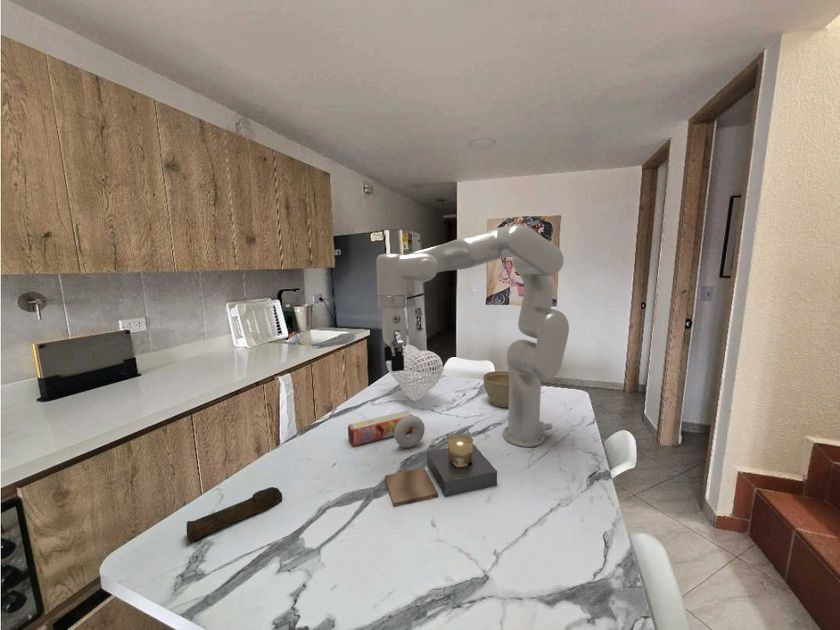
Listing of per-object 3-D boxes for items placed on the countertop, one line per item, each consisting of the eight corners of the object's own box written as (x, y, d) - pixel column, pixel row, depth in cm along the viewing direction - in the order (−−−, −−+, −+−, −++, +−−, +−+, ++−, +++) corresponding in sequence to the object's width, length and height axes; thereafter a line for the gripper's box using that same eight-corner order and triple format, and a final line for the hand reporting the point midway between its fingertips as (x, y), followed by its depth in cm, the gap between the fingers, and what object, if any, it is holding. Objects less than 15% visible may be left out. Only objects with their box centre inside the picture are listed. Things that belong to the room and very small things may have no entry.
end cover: (466, 466, 96) (466, 432, 94) (476, 479, 90) (476, 443, 88) (444, 470, 94) (444, 435, 93) (453, 484, 88) (453, 448, 87)
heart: (451, 406, 135) (450, 351, 132) (418, 417, 126) (417, 358, 123) (410, 386, 158) (409, 339, 154) (380, 394, 149) (379, 344, 145)
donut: (397, 453, 103) (396, 421, 101) (392, 447, 106) (391, 417, 104) (426, 445, 107) (426, 414, 106) (422, 440, 110) (421, 410, 109)
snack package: (352, 449, 106) (351, 428, 105) (347, 439, 112) (346, 420, 111) (415, 433, 115) (415, 414, 114) (407, 425, 121) (407, 407, 120)
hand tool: (188, 548, 70) (185, 527, 69) (187, 535, 73) (184, 515, 72) (285, 508, 81) (284, 490, 80) (280, 499, 84) (279, 481, 83)
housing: (472, 456, 101) (473, 443, 100) (496, 485, 87) (497, 471, 87) (427, 465, 97) (426, 451, 96) (444, 497, 83) (444, 481, 83)
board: (424, 471, 94) (424, 467, 94) (438, 497, 83) (438, 493, 83) (384, 478, 91) (384, 475, 91) (393, 506, 80) (393, 503, 80)
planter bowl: (503, 392, 149) (503, 368, 147) (533, 405, 135) (534, 378, 134) (474, 400, 140) (474, 375, 139) (503, 415, 127) (504, 387, 125)
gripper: (414, 304, 83) (415, 373, 85) (399, 298, 99) (400, 355, 102) (383, 306, 81) (385, 376, 83) (373, 299, 97) (375, 358, 100)
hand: (394, 365), depth 93 cm, fingers open, 9 cm apart
